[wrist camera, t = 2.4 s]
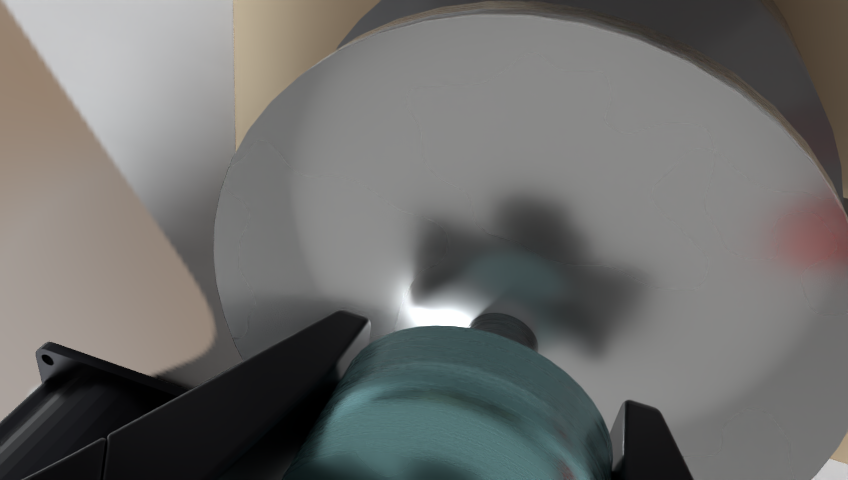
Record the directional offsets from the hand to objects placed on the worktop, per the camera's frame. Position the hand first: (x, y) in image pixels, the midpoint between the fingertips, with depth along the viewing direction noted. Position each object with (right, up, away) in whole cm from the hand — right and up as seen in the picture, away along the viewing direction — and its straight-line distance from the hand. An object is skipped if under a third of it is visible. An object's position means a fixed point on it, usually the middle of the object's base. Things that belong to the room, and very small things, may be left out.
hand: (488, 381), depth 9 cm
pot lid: (0, +1, +1) cm, 1 cm away
